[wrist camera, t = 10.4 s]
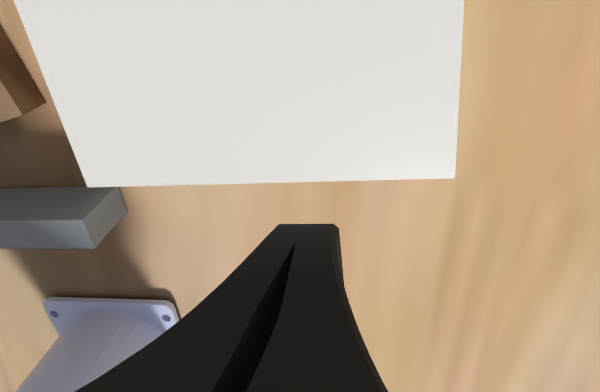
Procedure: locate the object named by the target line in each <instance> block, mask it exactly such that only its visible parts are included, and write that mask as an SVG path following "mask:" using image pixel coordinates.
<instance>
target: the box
mask: <svg viewBox="0 0 600 392" xmlns="http://www.w3.org/2000/svg"><path fill="white" fill-rule="evenodd" d="M126 213H127V209H126V206H125V204H124V201H123V198H122V195H121V192H120V190H119V187H87V186H66V187H29V188H0V248H30V249H95V248H96V247H97V245H98V244H99V243H100V242H101V241H102V240H103V239H104V238H105V236H106V235H107V234H108V233H109V232H110V231H111V230H112V229H113V228H114V226H115V225H116V224H117V223H118V222H119V221H120V220H121V219H122V217H123V216H124V215H125V214H126Z"/></svg>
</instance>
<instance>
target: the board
mask: <svg viewBox="0 0 600 392" xmlns="http://www.w3.org/2000/svg"><path fill="white" fill-rule="evenodd" d="M14 2H15V5H16V7H17V10H18V12H19V15H20V17H21V20H22V23H23V25H24V28H25V30H26V33H27V35H28V38H29V40H30V43H31V45H32V48H33V50H34V53H35V56H36V58H37V61H38V63H39V66H40V68H41V71H42V73H43V76H44V78H45V81H46V83H47V86H48V89H49V91H50V94H51V96H52V99H53V101H54V104H55V106H56V109H57V111H58V114H59V116H60V119H61V122H62V124H63V127H64V129H65V132H66V134H67V137H68V139H69V142H70V144H71V147H72V149H73V152H74V155H75V157H76V160H77V162H78V165H79V167H80V170H81V172H82V175H83V177H84V180H85V182H86V185H87V187H126V186H165V185H204V184H243V183H282V182H321V181H360V180H399V179H438V178H455V166H456V147H457V128H458V109H459V89H460V70H461V51H462V32H463V13H464V0H14Z"/></svg>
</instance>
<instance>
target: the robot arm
mask: <svg viewBox="0 0 600 392" xmlns="http://www.w3.org/2000/svg"><path fill="white" fill-rule="evenodd" d="M43 305H44V308H45V310H46V312H47V314H48V316H49V318H50V320H51V322H52V323H53V325H54V327H55V329H56V331H57V333H58V335H59V337H58V339H57V340H56V341H55V342H54V344H53V345H52V346H51V347H50V349H49V350H48V351H47V353H46V354H45V355H44V356H43V358H42V359H41V360H40V361H39V363H38V364H37V365H36V366H35V368H34V369H33V370H32V371H31V373H30V374H29V375H28V377H27V378H26V379H25V380H24V382H23V383H22V384H21V385H20V387H19V388H18V389H17V390H16V392H388V391H387V389H386V387H385V385H384V383H383V382H382V380H381V378H380V376H379V373H378V371H377V369H376V367H375V365H374V363H373V361H372V359H371V357H370V355H369V352H368V350H367V348H366V346H365V343H364V341H363V339H362V336H361V334H360V332H359V329H358V326H357V324H356V321H355V319H354V316H353V313H352V310H351V307H350V304H349V301H348V298H347V295H346V292H345V288H344V279H343V269H342V258H341V247H340V236H339V228H338V227H336V226H335V225H334V224H279V225H278V226H277V227H276V228H275V229H274V230H273V231H272V232H271V233H270V234H269V235H268V236H267V237H266V238H265V239H264V240H263V241H262V242H261V243H260V244H259V245H258V246H257V248H256V249H255V250H254V251H253V252H252V253H251V254H250V255H249V256H248V257H247V258H246V259H245V260H244V261H243V262H242V263H241V264H240V265H239V266H238V267H237V268H236V269H235V270H234V271H233V272H232V273H231V274H230V275H229V276H228V277H227V278H226V279H225V280H224V281H223V282H222V283H221V284H220V285H219V286H218V287H217V288H216V289H215V290H214V291H213V292H211V293H210V294H209V295H208V296H207V297H206V298H205V299H204V300H203V301H202V302H201V303H199V304H198V305H197V306H196V307H195V308H194V309H193V310H192V311H190V312H189V313H188V314H187V315H186V316H184V317H183V318H182V319H181V320H179V318H178V315H177V312H176V309H175V306H174V305H173V304H172V303H171V302H170V301H167V300H144V299H109V298H73V297H49V298H47V299H46V300H45V302H44V303H43ZM167 315H168V316H167Z"/></svg>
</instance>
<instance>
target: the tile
mask: <svg viewBox="0 0 600 392" xmlns="http://www.w3.org/2000/svg"><path fill="white" fill-rule="evenodd" d="M44 103H46V101H45V99H44V97H43V96H42V94H41V92H40V91H39V89H38V87H37V86H36V84H35V82H34V81H33V79H32V77H31V76H30V74H29V72H28V70H27V69H26V67H25V65H24V64H23V62H22V60H21V59H20V57H19V55H18V54H17V52H16V50H15V49H14V47H13V45H12V44H11V42H10V40H9V39H8V37H7V35H6V34H5V32H4V30H3V29H2V27H1V25H0V122H3V121H6V120H9V119H13V118H16V117H19V116H22V115H24V114H26V113H28V112H29V111H31V110H33V109H35V108H37V107H39V106H41V105H42V104H44Z"/></svg>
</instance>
